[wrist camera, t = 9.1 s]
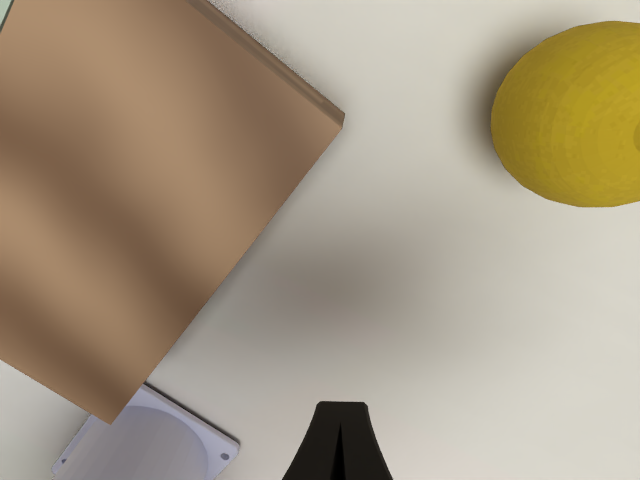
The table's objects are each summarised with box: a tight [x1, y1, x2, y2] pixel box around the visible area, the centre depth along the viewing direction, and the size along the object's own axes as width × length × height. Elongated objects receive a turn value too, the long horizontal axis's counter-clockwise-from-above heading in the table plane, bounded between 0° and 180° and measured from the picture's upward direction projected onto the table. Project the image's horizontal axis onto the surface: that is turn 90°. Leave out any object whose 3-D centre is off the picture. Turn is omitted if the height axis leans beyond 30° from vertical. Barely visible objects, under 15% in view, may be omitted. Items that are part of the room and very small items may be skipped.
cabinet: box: [0, 0, 345, 425], centre depth 18 cm, size 16×10×5 cm, turn 142°
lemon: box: [491, 21, 640, 207], centre depth 14 cm, size 6×6×8 cm
